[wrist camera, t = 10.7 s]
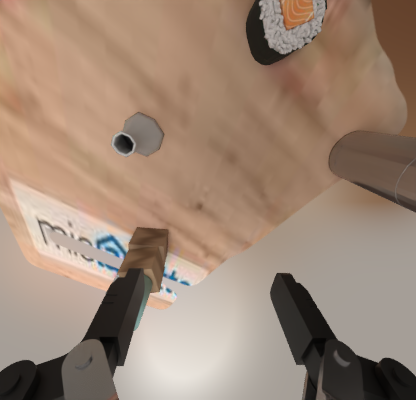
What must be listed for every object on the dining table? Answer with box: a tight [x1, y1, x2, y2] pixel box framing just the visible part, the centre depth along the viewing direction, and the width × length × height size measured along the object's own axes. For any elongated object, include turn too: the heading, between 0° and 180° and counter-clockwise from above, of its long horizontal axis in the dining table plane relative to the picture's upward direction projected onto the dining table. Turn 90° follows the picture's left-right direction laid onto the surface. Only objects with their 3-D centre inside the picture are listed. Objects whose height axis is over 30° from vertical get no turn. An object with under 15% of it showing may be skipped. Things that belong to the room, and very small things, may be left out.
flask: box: [111, 112, 164, 157], centre depth 29 cm, size 7×7×10 cm
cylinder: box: [134, 275, 152, 331], centre depth 30 cm, size 5×5×7 cm
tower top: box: [118, 246, 165, 293], centre depth 36 cm, size 6×6×6 cm
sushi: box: [246, 0, 327, 65], centre depth 25 cm, size 8×8×8 cm
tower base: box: [128, 227, 168, 265], centre depth 42 cm, size 7×7×6 cm
